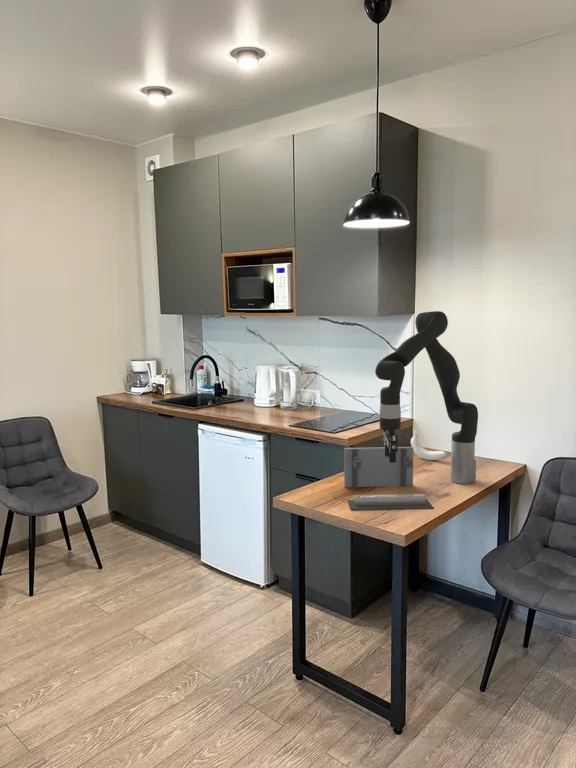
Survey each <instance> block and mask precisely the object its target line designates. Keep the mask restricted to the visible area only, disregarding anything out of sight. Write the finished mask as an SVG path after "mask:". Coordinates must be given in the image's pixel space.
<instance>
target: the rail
mask: <svg viewBox="0 0 576 768" xmlns="http://www.w3.org/2000/svg"><path fill="white" fill-rule="evenodd" d="M426 497H427V496H426V495H425V494H424V493H410V494H369V495H368V494H367V495H363V494H361V495H353V500H354V504H355V506H356V505H403V504H426V499H427V498H426Z"/></svg>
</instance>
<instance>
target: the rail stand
mask: <svg viewBox="0 0 576 768" xmlns="http://www.w3.org/2000/svg"><path fill="white" fill-rule="evenodd" d="M385 447H386V446H383V447H380V446H379V447H344V448H343V450H344V451H343V459H344V460H343V462H344V463H343V464H344V465H343V466H344V467H343V470H344V471H343V473H344V476H343V478H344V479H343V480H344V481H343V483H344V484H343V485H344V486H343V487H344V488H356V489H357V488H361V487H362V488H365V487H367V488H369V487H371V488H372V487H374V488H375V487H403V488H404V486H406V487H407V486H409V487H410V485H413V486H414V450H413V447H412V446H398V452H396V462H395V463H390V461H389V457H386V456H385ZM392 449H394V447H392Z"/></svg>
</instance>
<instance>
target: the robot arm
mask: <svg viewBox="0 0 576 768" xmlns="http://www.w3.org/2000/svg"><path fill="white" fill-rule="evenodd" d="M414 323H415V327H416V328H415V329H416V332H417V333H416V334H414V335H412V336H410V337H408V338H407V339H406V340H404V341H403V342H402V343H401V344H400V345H399V346H398V347H397V348H396V349H395V350H394V351H393V352H391V353H390V354H387V356H384V357H383V358H382V359H380V360H379V362H378V363H377V364H376V366H375V372H374V373H375V376H376V377H377V379H379V380H382V381H390V382H389V385H388V386H384V387H381V389H380V391H379V392H380V394H379V395H380V396H379V399H380V401H379V402H380V404H379V429H381V430H383V433H382V434H383V437H382V438H383V442H382V443H383V447H385V456H386V457H389V461H390V463H395V462H396V452H398V447H399V445H398V441H399V440H398V435H397V434H396V431H398V430H400V429H401V428H402V427H401V424H402V422H401V421H402V420H401V419H402V418H401V417H402V416H401V415H402V413H401V412H402V410H401V389H402V387H403V382H404V380H405V373H406V369H405V367H407V366H409V365H410V364H411V362H413V360H414V359H415V358H416V357H417V356H418V354H420V352H421V351H423V350H424V349H425V350H426V353H427V355H428V358H429V360H430V363H431V365H432V368H433V371H434V375H435V377H436V379H437V382H438V384H439V388H440V391H441V394H442V397H443V401H444V406H445V409H446V412H447V413H446V414H447V416H448V419H449V420H450V421H451V422H452V423H454V424H458V425H460V430H459V431H455V432H453V433H452V435H451V450H450V451H451V458H450V459H451V461H450V463H451V464H450V481H451V482H453V483H454V484H455V483H456V484H462V485H464V484H465V485H468V484H473V483H474V484H475V483H476V480H477V479H476V478H477V477H476V476H477V474H476V473H477V460H476V459H475V455H476V454H475V450H476V449H475V448H476V446H475V445H476V437H477V433H478V420H479V412H478V411H479V410H478V407H477V406H476V404H474V403H470V402H464V401H462V400H461V399H460V398H459V397H460V396H459V394H458V389H457V388H458V385H459V382H460V377H461V373H460V369H459V367H458V364H457V360H456V359H455V358H454V356H453V355H452V354H451V353H450V352H449V351H448V350H447V349H446V348H445V347H444V346H443V345H442V344H441V343H440V342H439V339H437V338H439V337H440V336H441V335H443V334H444V333H445V332H446V330H447V329H448V324H449V320H448V316H447V315H446V313H444V312H443V311H441V310H433V311H425V312H420V313H418V314H417V315H416V317H415V322H414ZM392 447H394V449H392Z"/></svg>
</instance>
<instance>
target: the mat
mask: <svg viewBox="0 0 576 768" xmlns="http://www.w3.org/2000/svg"><path fill="white" fill-rule="evenodd" d="M347 504H348V506H350V507H349V509H350V511H381V510H382V511H386V510H387V511H391V510H392V511H396V510H434V509H435V508H434V506H433V505H432V503H431V502H430V501H429V500H428V498H426V504H403V505H356V506H355V504H354V499H347Z"/></svg>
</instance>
